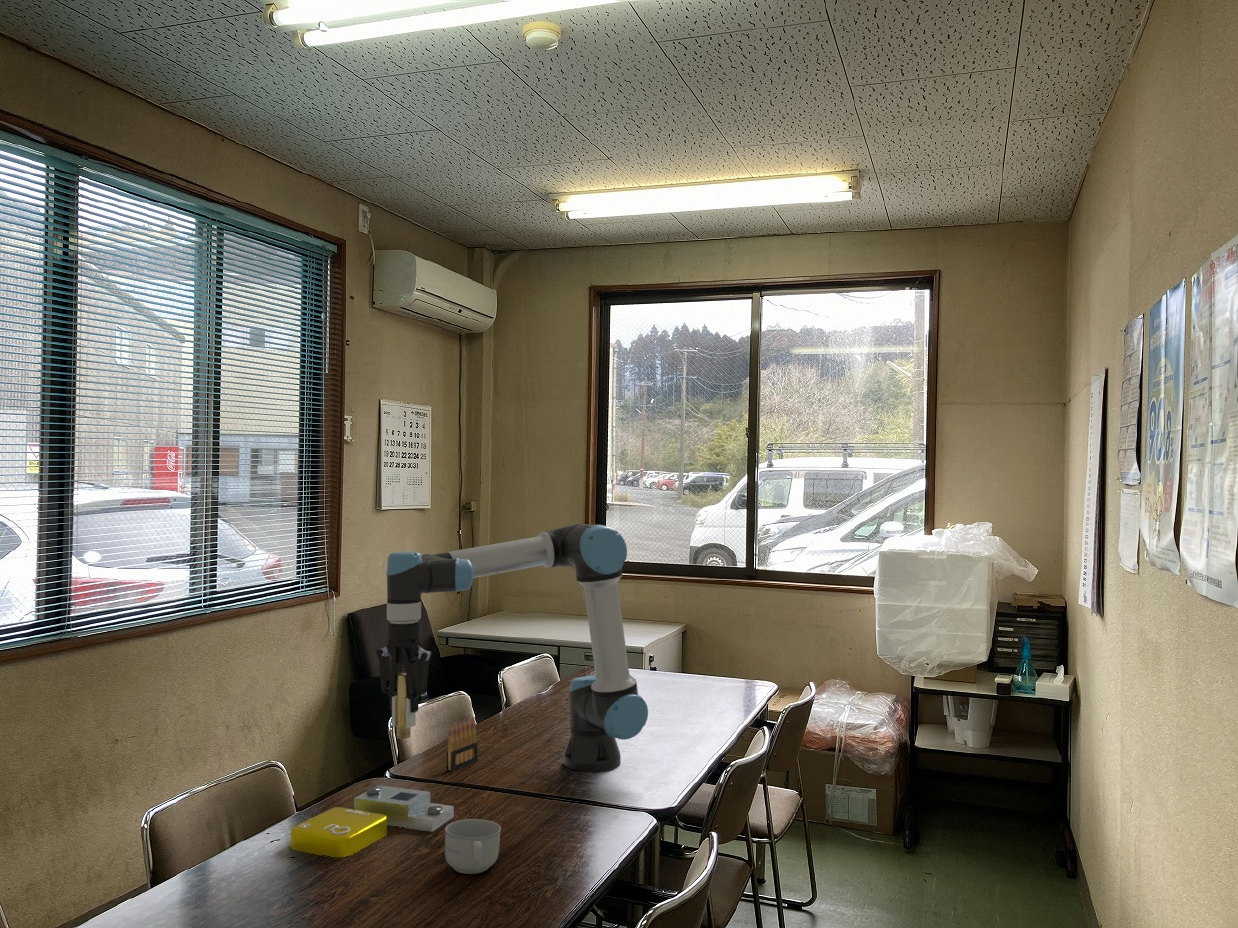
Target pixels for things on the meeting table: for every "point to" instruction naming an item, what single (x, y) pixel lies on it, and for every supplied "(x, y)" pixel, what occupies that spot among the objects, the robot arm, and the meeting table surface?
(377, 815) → the element tile
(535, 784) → the meeting table surface
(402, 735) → the brass pin
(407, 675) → the robot arm
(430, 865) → the meeting table surface
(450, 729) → the ammunition clip
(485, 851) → the teacup
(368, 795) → the bolted socket block
